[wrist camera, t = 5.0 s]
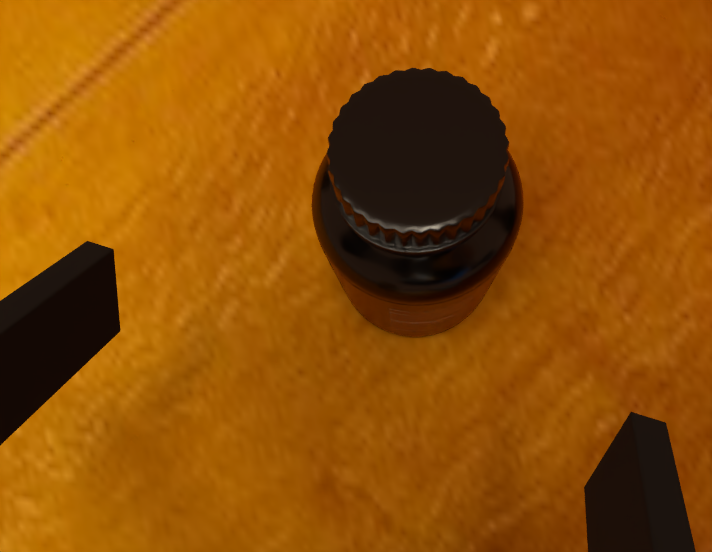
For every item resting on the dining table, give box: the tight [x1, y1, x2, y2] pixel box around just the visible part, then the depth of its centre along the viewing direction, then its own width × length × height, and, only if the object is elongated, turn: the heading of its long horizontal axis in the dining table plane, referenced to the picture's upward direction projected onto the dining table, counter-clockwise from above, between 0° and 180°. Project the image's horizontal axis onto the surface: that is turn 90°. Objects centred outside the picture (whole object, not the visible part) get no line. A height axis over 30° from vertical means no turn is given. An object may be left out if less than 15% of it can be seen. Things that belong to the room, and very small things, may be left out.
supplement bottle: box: [312, 68, 523, 337], centre depth 21 cm, size 7×7×12 cm
